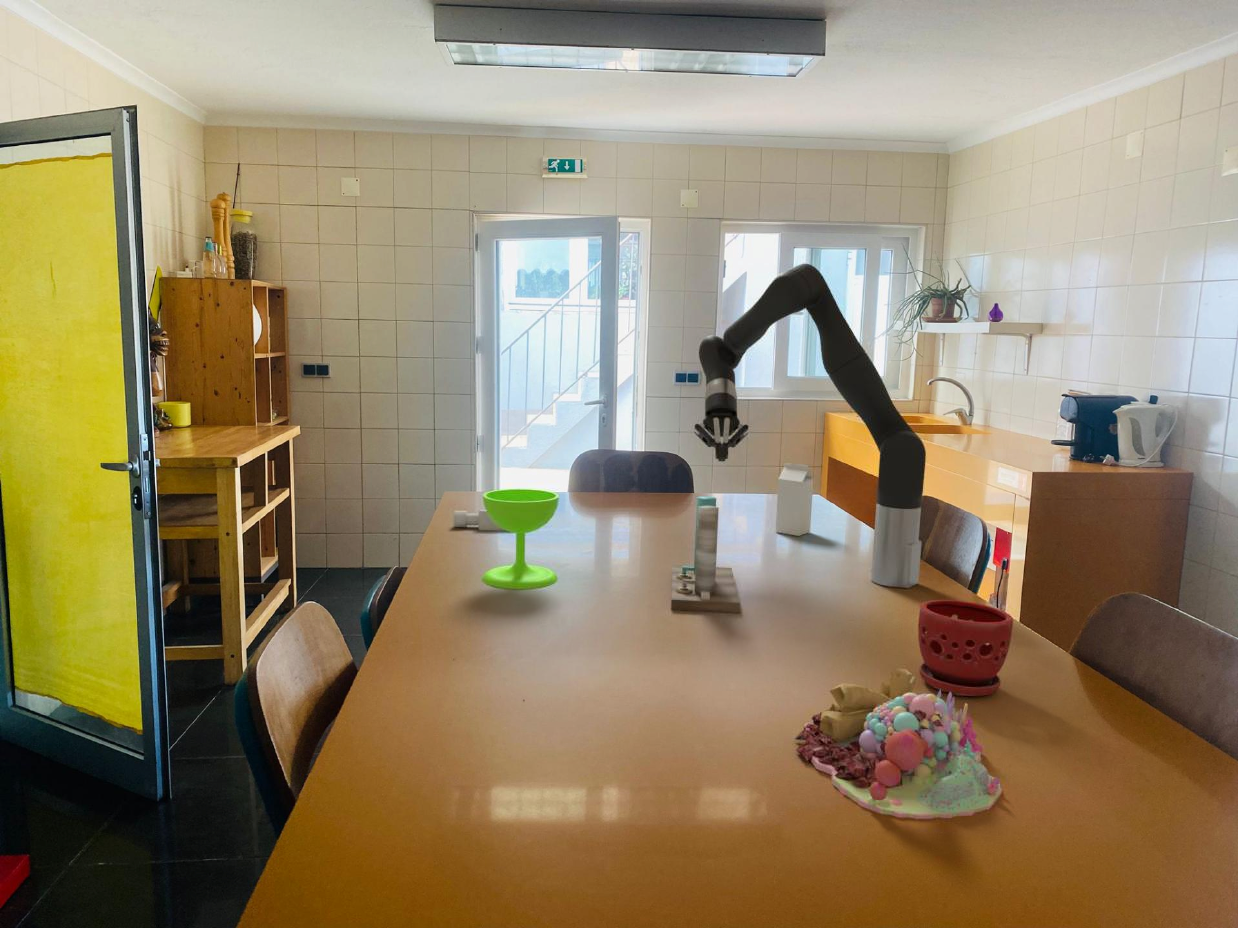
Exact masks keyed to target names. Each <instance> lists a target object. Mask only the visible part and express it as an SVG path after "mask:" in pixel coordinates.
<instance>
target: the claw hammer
mask: <svg viewBox="0 0 1238 928" xmlns="http://www.w3.org/2000/svg"><path fill="white" fill-rule="evenodd" d="M468 526H478V530H479V531H480V530H481V531H505V530H504V529H502V528H501V527H499V526H498V525H497V524H495V523H494V522H493V520H492V519H491V518H490V517H489V515H488V513H487V511H486V509H479V510H478V513H468V511H467V510H454V514H453V527H454V528H467V527H468Z"/></svg>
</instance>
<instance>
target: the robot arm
mask: <svg viewBox="0 0 1238 928" xmlns="http://www.w3.org/2000/svg"><path fill="white" fill-rule="evenodd" d="M765 289H766V290H765V291H764V292H763V293H762V295H761V296H760V297H759V298H758V300H757V301H756V302H755V303H754V304H753V305H752V306H751V307H750V308H749V309H748V310H746V312H744V314H742V315H740V316H739V318H737V319H736V320H735V321H734V322H733V323H731V325H729V326H728V327H727V328H726V330H724V333H723V336H722V337H723V338H722V337H719V336H718V335H714V334H713V335H712V334H711V335H708V336H706V337H705V338H703V339H702V341H701V343H700V345H699V349H698V357H699V358H698V359H699V361H700V365H701V367H702V370H703V373H704V376H705V385H706V386H705V393H704V418H703V420H702V423H700V424H699V423H695V424H694V434H695V435H696V436H697V437H698V438H699V439H700V440H701V441H702V443H703V444H705V446H707V447H708V448H712V447H713V448H714V449H715V450H714V452H715V455H714V457H715V459H716V460H718V462H726V460H729V459H728V458H729V448H736V446H738V445H739V443H741V442H742V441H743V440H744V439H745V438H746V436H747V435H749V425H748V424H744V425H743V424H742V423H741V422H740V418H738V396H737V389H736V375H735V374H736V373H735V369H736V368H737V367H738V366H739V364H740V362H741V360H742V358H743V357H744V355H745V353H746V352H747V351H748V349H750V348H751V347H752V346H753V345H755V344H756V343H757V342H759V341H760V340H761V339H762V338H763V337H764V336H765V335H766V333H767V331H768V330H769V328H770V327H771V326H772V325H773V324H775V323H777V322H778V321H780V320H782V319H784V318H787V317H788V316H790V315H792V314H796V313H800V312H802V311H804V310H806V311H807V313H808V314H809V316H810V317H811V318H812V320H813V322H814V324H815V326H816V329H817V331H818V335H819V342H820V352H821V359H822V365H823V368H824V370H825V372H826V374H827V375H828V377H829V379H830V380H831V382H832V383H833V385H834V387H835V388H836V389H837V391H838V392H839V394H840V395H841V396H842V398H843V399H844V400H845V402H846V403H847V405H848V406H850V408H851V409H852V410H853V411H854V413H856V414H857V416H858V417H859V418H860V419H861V420H862V421H863V423H864V424H865V426H866V427H867V429H868V431H869V433H870V435H871V437H872V440H873V441H874V443H875V445H876V446H877V450H878V451H879V462H878V476H877V477H878V478H877V479H878V480H877V488H876V489H877V490H876V506H875V519H874V521H875V522H874V532H873V547H872V560H871V562H872V563H871V576H870V577H871V578H870V580H871V581H872V582H873V583H876V584H877V585H881V586H886V587H891V588H904V589H910V588H912V587H913V586H916V585H918V584H919V580H920V579H919V577H920V568H921V567H920V566H921V565H920V564H921V556H922V555H921V553H922V550H921V549H922V541H921V540H920V539H919V537H920V525H921V523H920V522H921V511H922V501H923V493H924V482H925V470H926V459H927V456H926V455H927V452H926V448H925V444H924V442H923V441H922V439H921V437H920V436H919V435H918V434H917V433H916V431H914V430H913V429H912V428H911V426H910V425H909V424H908V423H907V421H906V420H905V419H904V417H903V415H901V413H900V412H899V411H898V409H897V408H896V406H895V405H894V403H893V400H892V399H891V396H890V394H889V391H888V389H887V388H886V387H887V386H885V383H884V381H883V379H882V377H881V376H880V374H879V371H878V370H877V367H875V365H874V363H873V361H872V360H871V358H870V357H869V354H868V353H867V352H866V350H865V349H864V348H863V347H862V346H863V345H861V343H860V341H858V338H857V337H856V335H855V333H854V331H853V330H852V329H851V327H850V325H849V323H848V321H847V320H846V318H845V317H844V315H843V313H842V311H841V309H840V307H839V306H838V303H837V302H836V299H835V297H834V295H833V293H832V291H831V289H830V287H829V285H828V283H827V281H826V279H825V278H824V276H823V275H822V273H821V272H820V270H819V269H818V268H817V267H815V266H814V265H812V264H809V263H800V264H798V265H795V266H794V267H792V268H790V269H787V270H785V271H783V272H780V273H779V274H777V276H775V278H773V280H772V281H771V282H770V284H769V285H768V287H767V288H765ZM729 437H730V438H729ZM721 438H722V440H721ZM721 441H722V442H721Z"/></svg>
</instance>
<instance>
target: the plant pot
mask: <svg viewBox="0 0 1238 928" xmlns="http://www.w3.org/2000/svg"><path fill="white" fill-rule="evenodd" d="M919 607H920V608H919V614H918V622H917V623H918V624H917V630H918V631H917V634H918V635H917V636H918V646H919V650H920V654H921V658H922V660H923V663H921V664H920V665H919V669H918V671H919V672H918V673H919V675H920V676H921V678H922V679H923V680H924V682H926V683H927V684H928V685H929V686H931V687H933V688H935V689H937V690H938V691H940V689H941V692H945V693H948V694H949V693H950V691H951V694H952V696H954V697H956V696H957V697H958V696H966V697H980V696H986V695H990V694H993V693H995V692H996V691H997V690H998V689H999V688H1000V686H1001V684H1002V682H1001V681H1002V680H1001V678H1000V677H999V675H998V674H999V672H1000V671H1001V669H1002V668H1003V666H1004V665H1005V664H1004V663H1005V662H1006V659H1007V656H1008V653H1009V649H1010V645H1011V640H1012V633H1013V625H1014V624H1013V623H1014V619H1013V616H1011V615H1010V613H1008V612H1006V611H1004V610H1001V609H999V608H996V607H993V606H990V605H986V604H981V603H977V602H970V601H965V600H964V601H963V600H957V599H955V600H952V599H935V600H928V601H924V602H922V603H921V605H920V606H919ZM953 616H957V618H954V617H953Z"/></svg>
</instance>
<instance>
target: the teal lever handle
mask: <svg viewBox="0 0 1238 928" xmlns="http://www.w3.org/2000/svg"><path fill="white" fill-rule="evenodd" d="M699 506H715V507H717V497H715V496H708V495H707V496H704V495H703V496H701V495H700V496H697V497H696V509H695V510H696V513H695V514H696V515H695V519H696V520H695V535H694V537H695V538H694V560H693V562H694V563H693V566H694V567H688V566H689V565H682V566H683V568H682V574H684V575H685V574H686V571H694V574H695V568H696V544H697V520H698V507H699Z"/></svg>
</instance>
